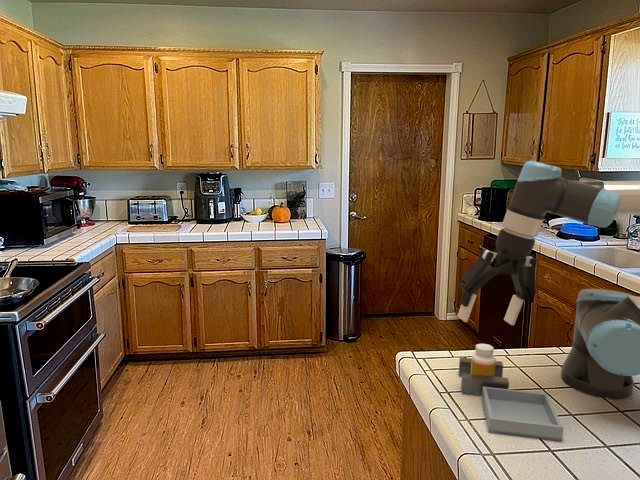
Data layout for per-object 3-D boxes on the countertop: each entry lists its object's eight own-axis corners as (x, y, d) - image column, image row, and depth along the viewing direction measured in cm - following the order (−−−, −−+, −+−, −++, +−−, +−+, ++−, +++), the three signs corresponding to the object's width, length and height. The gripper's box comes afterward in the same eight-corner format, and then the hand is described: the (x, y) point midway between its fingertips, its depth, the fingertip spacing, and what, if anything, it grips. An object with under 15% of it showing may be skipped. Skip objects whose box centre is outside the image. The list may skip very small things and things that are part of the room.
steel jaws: (500, 376, 119) (501, 361, 118) (507, 399, 108) (509, 382, 107) (458, 372, 121) (459, 357, 120) (461, 394, 110) (462, 377, 109)
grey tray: (545, 406, 105) (547, 393, 105) (561, 441, 92) (563, 427, 92) (481, 398, 108) (482, 386, 108) (488, 432, 95) (489, 418, 95)
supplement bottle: (495, 391, 111) (498, 352, 110) (471, 389, 112) (474, 350, 111) (491, 381, 117) (495, 343, 115) (468, 378, 118) (471, 341, 116)
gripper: (547, 235, 112) (516, 316, 117) (461, 219, 102) (432, 309, 108) (573, 246, 105) (538, 331, 111) (484, 231, 95) (451, 325, 101)
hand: (485, 321), depth 109 cm, fingers open, 13 cm apart
